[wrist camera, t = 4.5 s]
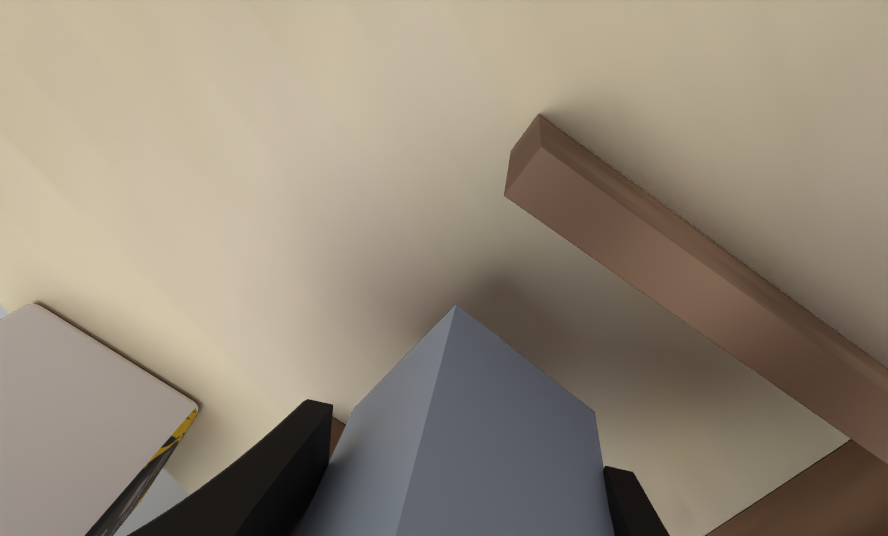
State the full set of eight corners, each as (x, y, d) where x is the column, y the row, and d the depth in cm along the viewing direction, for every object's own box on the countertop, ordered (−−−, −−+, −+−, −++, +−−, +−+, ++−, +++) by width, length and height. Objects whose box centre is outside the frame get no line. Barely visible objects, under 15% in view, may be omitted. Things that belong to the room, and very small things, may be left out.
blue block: (594, 411, 13) (652, 767, 7) (478, 498, 15) (442, 840, 9) (456, 303, 12) (380, 593, 6) (353, 409, 14) (214, 712, 8)
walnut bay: (950, 415, 15) (1076, 533, 12) (623, 618, 22) (641, 737, 18) (538, 113, 14) (541, 146, 10) (306, 429, 20) (256, 520, 16)
